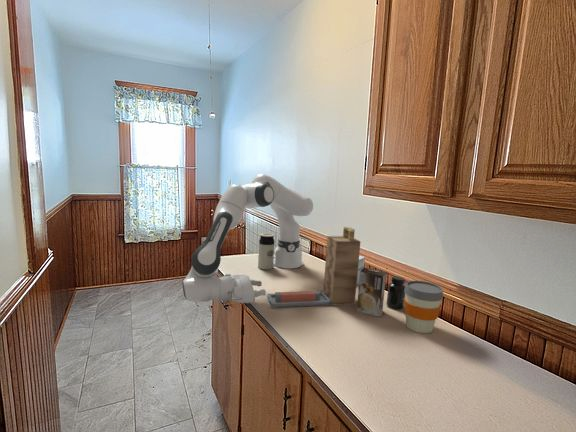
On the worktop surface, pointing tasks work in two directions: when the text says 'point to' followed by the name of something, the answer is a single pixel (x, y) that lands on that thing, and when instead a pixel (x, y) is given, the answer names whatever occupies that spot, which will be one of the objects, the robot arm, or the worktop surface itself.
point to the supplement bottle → (396, 293)
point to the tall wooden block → (341, 267)
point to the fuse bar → (297, 296)
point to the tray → (323, 301)
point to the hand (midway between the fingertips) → (263, 287)
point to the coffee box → (371, 291)
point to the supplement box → (360, 266)
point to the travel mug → (266, 251)
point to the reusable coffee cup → (422, 305)
